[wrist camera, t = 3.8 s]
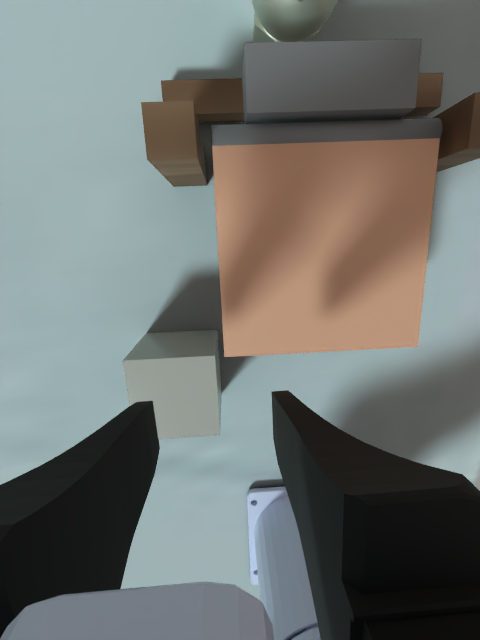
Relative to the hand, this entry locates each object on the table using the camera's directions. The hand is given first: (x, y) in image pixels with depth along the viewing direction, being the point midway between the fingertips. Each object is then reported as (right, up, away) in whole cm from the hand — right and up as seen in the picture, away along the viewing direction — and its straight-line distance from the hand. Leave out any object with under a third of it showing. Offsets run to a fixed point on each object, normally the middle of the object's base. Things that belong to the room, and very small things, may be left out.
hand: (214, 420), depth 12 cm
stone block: (-3, +1, +10) cm, 11 cm away
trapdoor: (+5, +9, +4) cm, 11 cm away
